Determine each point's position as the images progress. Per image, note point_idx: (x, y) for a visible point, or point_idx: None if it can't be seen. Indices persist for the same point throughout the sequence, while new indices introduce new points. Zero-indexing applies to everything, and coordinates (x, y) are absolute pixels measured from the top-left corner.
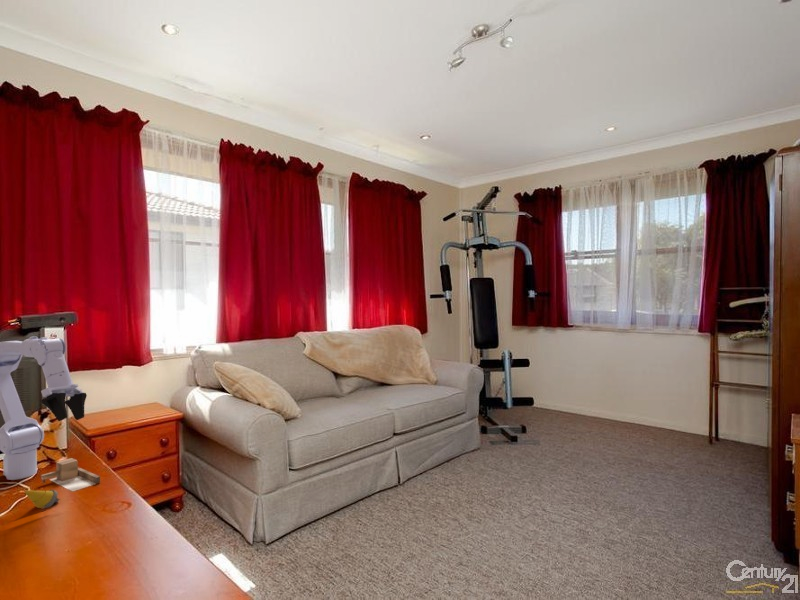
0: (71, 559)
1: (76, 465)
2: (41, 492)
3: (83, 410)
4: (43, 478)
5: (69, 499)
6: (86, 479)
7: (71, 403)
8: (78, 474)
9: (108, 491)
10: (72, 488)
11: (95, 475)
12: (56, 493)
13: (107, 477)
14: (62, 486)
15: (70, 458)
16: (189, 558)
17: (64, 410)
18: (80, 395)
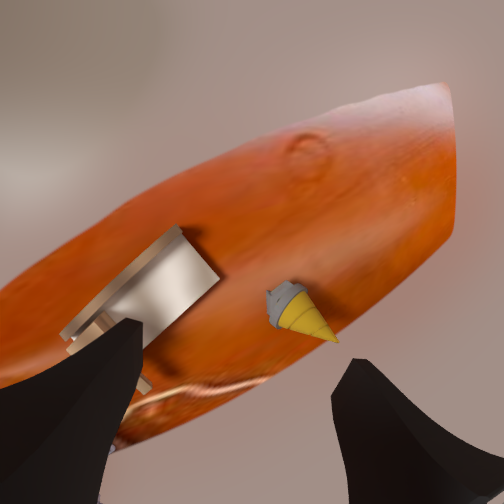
0: (427, 191)
1: (100, 320)
2: (316, 313)
3: (106, 345)
4: (151, 383)
5: (239, 275)
6: (134, 275)
7: (87, 493)
8: (95, 312)
9: (217, 194)
10: (197, 287)
11: (160, 241)
12: (295, 287)
13: (104, 230)
14: (171, 322)
15: (69, 352)
16: (426, 91)
17: (399, 391)
18: (26, 490)
